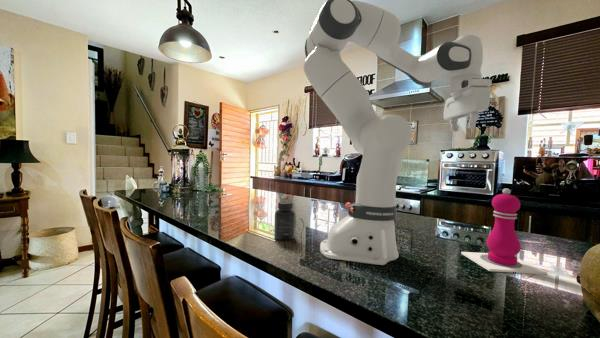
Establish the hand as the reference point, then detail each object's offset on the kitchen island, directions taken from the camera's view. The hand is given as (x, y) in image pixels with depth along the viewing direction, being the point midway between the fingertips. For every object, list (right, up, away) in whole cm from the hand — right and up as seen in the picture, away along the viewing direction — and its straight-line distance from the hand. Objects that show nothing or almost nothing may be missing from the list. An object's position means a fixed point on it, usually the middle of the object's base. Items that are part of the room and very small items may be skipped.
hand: (462, 129), depth 84 cm
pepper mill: (+1, -39, -16) cm, 42 cm away
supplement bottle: (-60, -36, 0) cm, 70 cm away
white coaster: (+1, -39, -15) cm, 42 cm away
